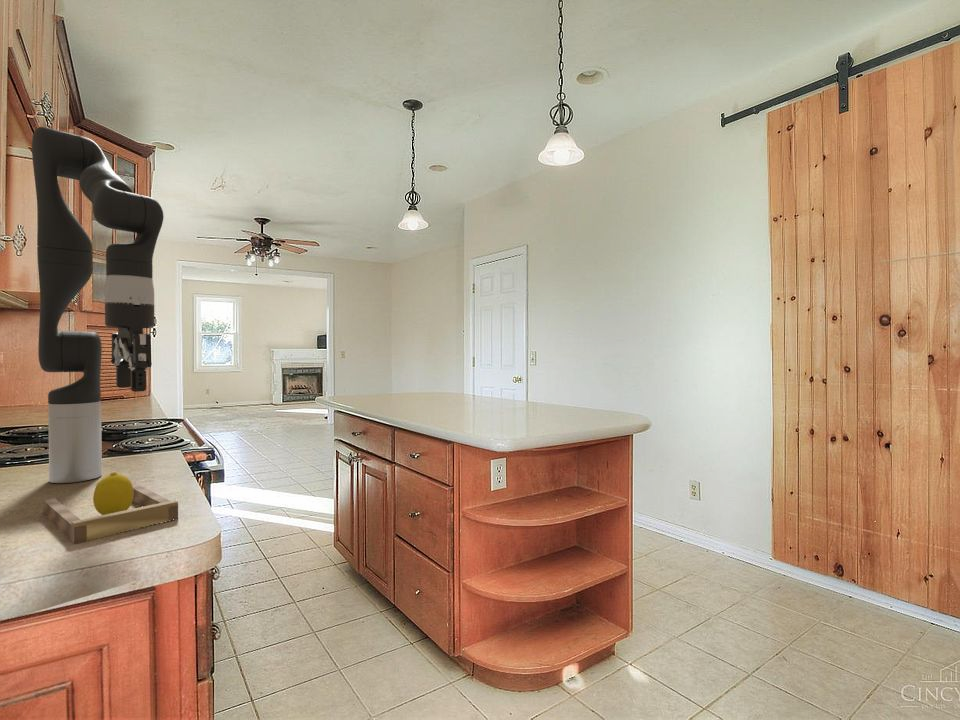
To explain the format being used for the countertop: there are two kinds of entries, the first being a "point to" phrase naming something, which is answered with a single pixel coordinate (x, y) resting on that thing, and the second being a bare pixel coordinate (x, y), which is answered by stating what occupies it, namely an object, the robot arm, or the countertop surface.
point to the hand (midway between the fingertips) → (131, 389)
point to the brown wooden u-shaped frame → (112, 516)
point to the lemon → (113, 494)
